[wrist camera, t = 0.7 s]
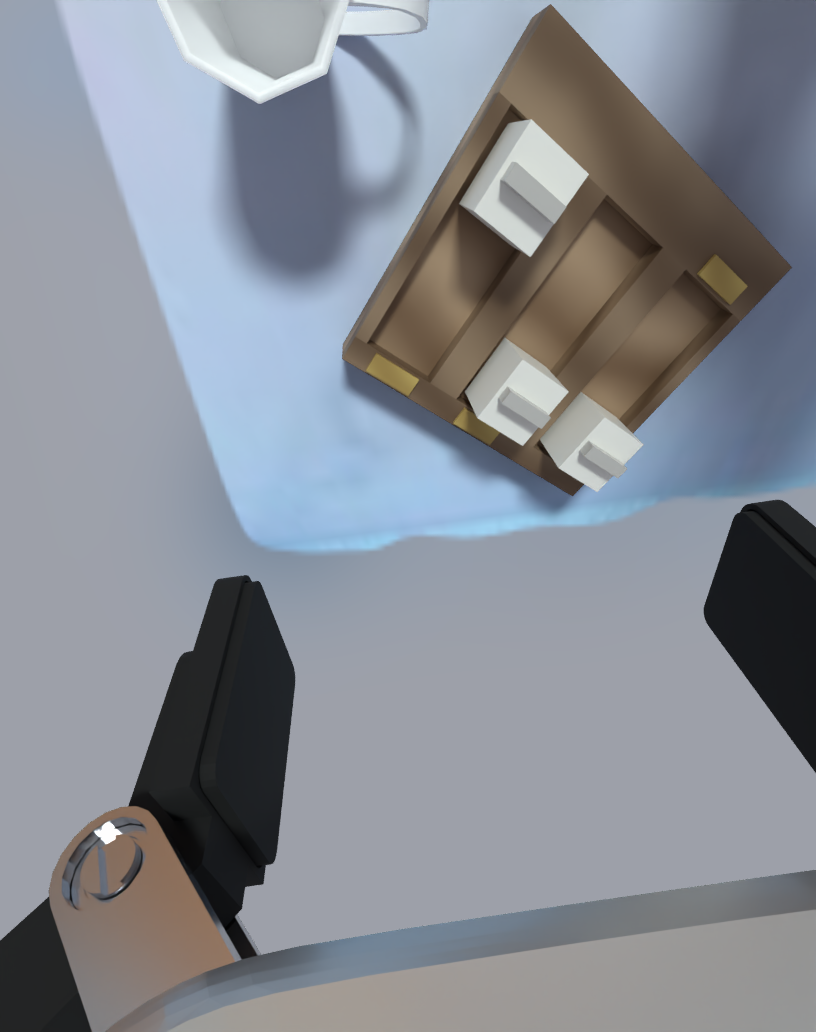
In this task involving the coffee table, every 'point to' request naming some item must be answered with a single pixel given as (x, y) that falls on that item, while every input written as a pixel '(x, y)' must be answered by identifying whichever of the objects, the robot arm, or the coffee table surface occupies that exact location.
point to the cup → (278, 37)
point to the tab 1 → (523, 186)
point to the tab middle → (514, 392)
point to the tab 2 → (590, 443)
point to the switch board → (567, 260)
